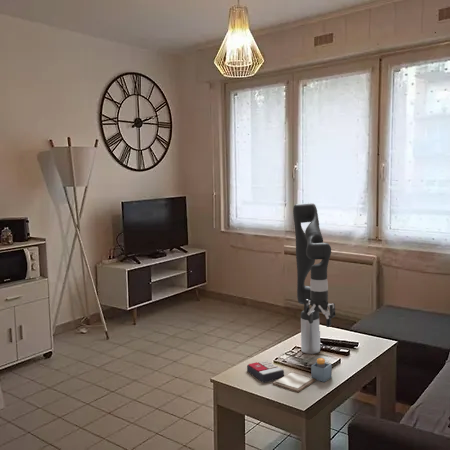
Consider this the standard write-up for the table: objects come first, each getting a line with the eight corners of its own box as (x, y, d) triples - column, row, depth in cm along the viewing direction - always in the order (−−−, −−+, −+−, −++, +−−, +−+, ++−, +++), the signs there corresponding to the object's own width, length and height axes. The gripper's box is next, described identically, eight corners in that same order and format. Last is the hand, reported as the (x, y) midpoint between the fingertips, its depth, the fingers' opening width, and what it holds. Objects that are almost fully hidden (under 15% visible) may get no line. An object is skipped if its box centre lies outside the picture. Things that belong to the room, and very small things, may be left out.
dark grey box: (267, 359, 235) (284, 368, 221) (267, 368, 235) (284, 378, 222) (246, 363, 230) (262, 373, 217) (246, 372, 231) (263, 383, 217)
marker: (319, 374, 222) (319, 357, 221) (326, 376, 220) (326, 359, 219) (315, 377, 220) (315, 359, 219) (322, 379, 217) (322, 361, 216)
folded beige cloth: (290, 373, 226) (290, 370, 226) (315, 380, 217) (315, 378, 217) (272, 384, 215) (272, 381, 215) (298, 392, 207) (298, 389, 207)
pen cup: (318, 373, 224) (318, 361, 224) (331, 377, 220) (331, 364, 219) (311, 378, 219) (311, 365, 219) (324, 382, 215) (324, 369, 215)
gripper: (338, 289, 214) (338, 325, 216) (309, 284, 223) (310, 319, 225) (329, 292, 208) (329, 330, 210) (300, 288, 217) (301, 324, 219)
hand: (319, 324), depth 217 cm, fingers open, 8 cm apart
